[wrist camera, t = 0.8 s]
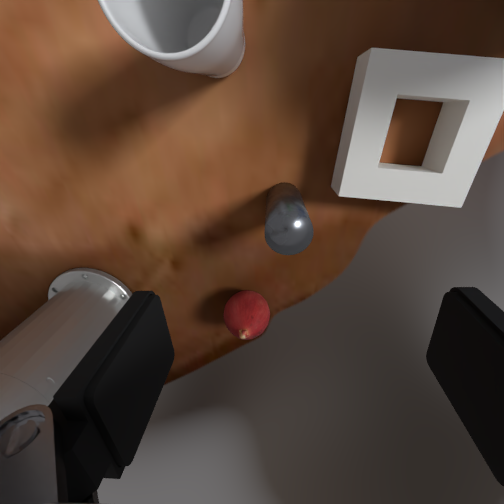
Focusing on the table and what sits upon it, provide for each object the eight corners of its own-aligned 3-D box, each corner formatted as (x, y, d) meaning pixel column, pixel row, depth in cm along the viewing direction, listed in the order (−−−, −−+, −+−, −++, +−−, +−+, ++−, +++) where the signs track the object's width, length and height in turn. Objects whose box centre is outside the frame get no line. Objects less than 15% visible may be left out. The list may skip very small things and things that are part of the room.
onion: (278, 301, 38) (279, 344, 31) (244, 319, 40) (239, 364, 33) (253, 271, 36) (249, 310, 29) (219, 291, 38) (208, 332, 31)
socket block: (439, 196, 31) (461, 207, 27) (330, 186, 31) (338, 196, 27) (489, 67, 25) (525, 60, 22) (357, 56, 25) (371, 47, 22)
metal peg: (298, 218, 33) (308, 257, 24) (264, 214, 33) (262, 252, 24) (303, 184, 31) (317, 212, 22) (268, 180, 31) (267, 208, 22)
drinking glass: (240, 98, 28) (210, 83, 14) (174, 71, 27) (78, 29, 13) (264, 16, 25) (257, -101, 11) (191, -17, 24) (89, -182, 10)
